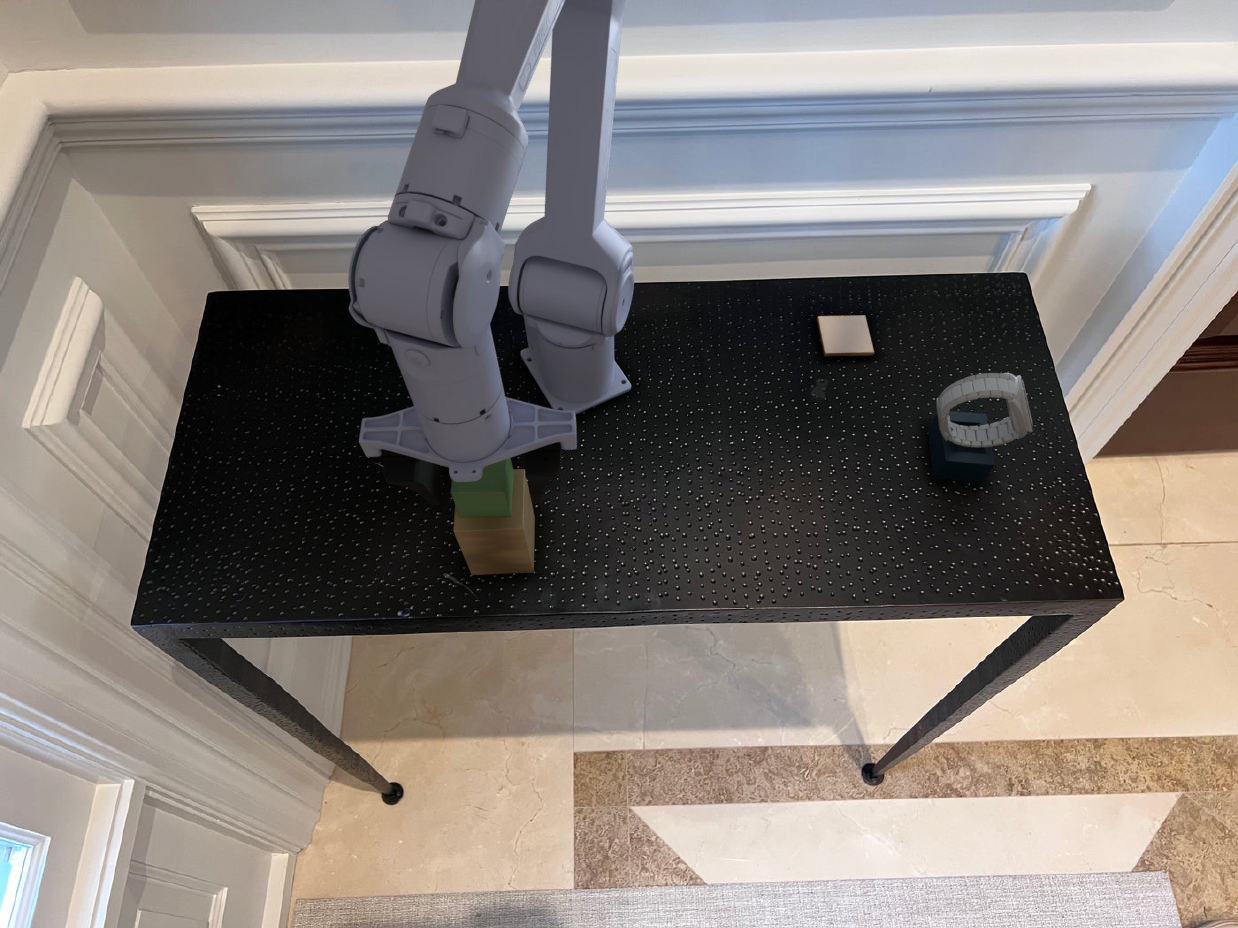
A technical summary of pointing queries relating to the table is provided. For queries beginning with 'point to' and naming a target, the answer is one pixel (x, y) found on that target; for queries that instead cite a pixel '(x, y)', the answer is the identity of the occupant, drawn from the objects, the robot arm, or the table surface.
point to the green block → (486, 492)
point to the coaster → (845, 335)
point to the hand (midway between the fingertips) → (487, 492)
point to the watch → (975, 426)
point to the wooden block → (500, 536)
